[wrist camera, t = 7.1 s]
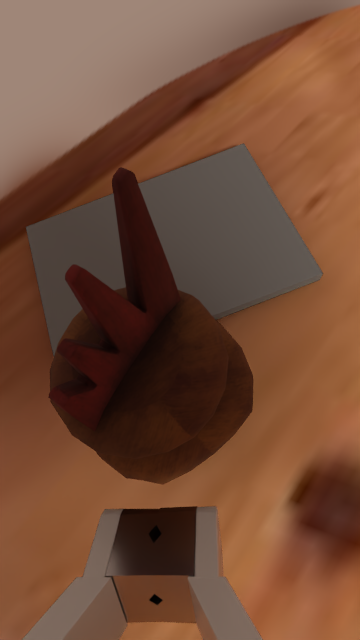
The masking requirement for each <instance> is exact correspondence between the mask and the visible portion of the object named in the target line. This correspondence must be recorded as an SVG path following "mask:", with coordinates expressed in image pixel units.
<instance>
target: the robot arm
mask: <svg viewBox="0 0 360 640" xmlns="http://www.w3.org/2000/svg"><path fill="white" fill-rule="evenodd" d="M131 622H176V623H197V626H198V629H199V631H200V633H201V636H202V638H203V640H263V639H262V637H261V636H260V634H259V632H258V631H257V629H256V627H255V626H254V624H253V622H252V621H251V619H250V617H249V616H248V614H247V612H246V611H245V609H244V607H243V606H242V604H241V602H240V600H239V599H238V597H237V595H236V594H235V592H234V590H233V589H232V587H231V585H230V584H229V582H228V580H227V579H226V577H223V557H222V546H221V535H220V526H219V517H218V509H217V506H212V507H197V506H196V507H173V508H160V509H105V510H104V512H103V513H102V515H101V517H100V520H99V524H98V527H97V530H96V534H95V537H94V540H93V544H92V547H91V550H90V554H89V557H88V560H87V564H86V567H85V570H84V574H83V577H76V579H75V580H74V581H73V582H72V583H71V584H70V585H69V587H68V588H67V589H66V590H65V591H64V592H63V593H62V595H61V596H60V597H59V598H58V599H57V600H56V601H55V603H54V604H53V605H52V606H51V607H50V608H49V609H48V611H47V612H46V613H45V614H44V615H43V616H42V617H41V619H40V620H39V621H38V622H37V623H36V624H35V625H34V627H33V628H32V629H31V630H30V631H29V632H28V633H27V635H26V636H25V637H24V638H23V639H22V640H119V639H120V637H121V635H122V634H123V632H124V630H125V629H126V627H127V623H131Z"/></svg>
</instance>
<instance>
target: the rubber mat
mask: <svg viewBox="0 0 360 640" xmlns="http://www.w3.org/2000/svg"><path fill="white" fill-rule="evenodd" d="M138 185H139V188H140V190H141V193H142V195H143V198H144V201H145V203H146V206H147V208H148V211H149V214H150V216H151V219H152V222H153V224H154V227H155V229H156V232H157V235H158V237H159V240H160V243H161V245H162V248H163V250H164V253H165V256H166V258H167V261H168V263H169V266H170V269H171V271H172V274H173V277H174V280H175V283H176V286H177V289H178V290H180V291H183V292H185V293H188V294H190V295H193V296H194V297H195V298H197V299H198V300H199V301H200V302H201V303H202V304H203V305H204V307H205V308H206V309H207V310H208V311H209V313H210V314H211V315H212V316H213V317H214V319H215V320H217V319H219V318H222V317H224V316H227V315H230V314H232V313H235V312H237V311H240V310H243V309H245V308H248V307H250V306H253V305H256V304H258V303H261V302H263V301H266V300H268V299H271V298H274V297H276V296H279V295H281V294H284V293H287V292H289V291H292V290H294V289H297V288H300V287H302V286H305V285H307V284H310V283H313V282H315V281H318V280H320V278H321V276H322V274H323V273H322V271H321V269H320V268H319V266H318V264H317V263H316V261H315V259H314V258H313V256H312V255H311V253H310V251H309V250H308V248H307V246H306V245H305V243H304V241H303V240H302V238H301V236H300V235H299V233H298V232H297V230H296V228H295V227H294V225H293V223H292V222H291V220H290V218H289V217H288V215H287V213H286V212H285V210H284V209H283V207H282V205H281V204H280V202H279V200H278V199H277V197H276V195H275V194H274V192H273V190H272V189H271V187H270V186H269V184H268V182H267V181H266V179H265V177H264V176H263V174H262V172H261V171H260V169H259V167H258V166H257V164H256V163H255V161H254V159H253V158H252V156H251V154H250V153H249V151H248V149H247V148H246V146H245V144H244V143H243V144H241V145H238V146H235V147H233V148H230V149H228V150H225V151H222V152H220V153H217V154H215V155H212V156H209V157H207V158H204V159H202V160H199V161H196V162H194V163H191V164H189V165H186V166H183V167H181V168H178V169H176V170H173V171H170V172H168V173H165V174H163V175H160V176H157V177H155V178H152V179H149V180H147V181H144V182H142V183H139V184H138ZM26 230H27V235H28V239H29V244H30V249H31V253H32V258H33V263H34V267H35V272H36V277H37V281H38V286H39V291H40V295H41V300H42V305H43V309H44V314H45V319H46V323H47V328H48V333H49V337H50V342H51V347H52V351H53V356H54V355H55V352H56V349H57V345H58V343H59V341H60V339H61V337H62V336H63V334H64V332H65V331H66V329H67V327H68V326H69V324H70V323H71V321H72V319H73V318H74V317H75V316H76V315H77V314H78V313H79V312H80V311H81V310H82V309H83V308H82V307H81V305H80V303H79V302H78V300H77V298H76V297H75V295H74V293H73V292H72V290H71V288H70V287H69V285H68V284H67V282H66V280H65V274H66V272H67V270H68V269H69V268H70V266H71V265H73V264H76V265H78V266H80V267H82V268H84V269H86V270H87V271H88V272H90V273H91V274H92V275H94V276H95V277H96V278H98V279H99V280H101V281H102V282H103V283H105V284H106V285H107V286H109V287H110V288H111V289H113V290H117V289H121V288H125V287H126V284H125V277H124V269H123V262H122V254H121V247H120V239H119V232H118V224H117V217H116V209H115V202H114V194H110V195H108V196H105V197H103V198H100V199H97V200H95V201H92V202H90V203H87V204H84V205H82V206H79V207H77V208H74V209H71V210H69V211H66V212H64V213H61V214H58V215H56V216H53V217H51V218H48V219H45V220H43V221H40V222H37V223H35V224H32V225H30V226H27V227H26Z"/></svg>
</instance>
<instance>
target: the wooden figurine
mask: <svg viewBox="0 0 360 640" xmlns="http://www.w3.org/2000/svg"><path fill="white" fill-rule="evenodd" d="M112 187H113V194H114V202H115V209H116V217H117V224H118V232H119V239H120V247H121V254H122V262H123V269H124V277H125V284H126V287H125V288H121V289H117V290H113V289H111V288H110V287H109V286H107V285H106V284H105V283H103V282H102V281H101V280H99V279H98V278H96V277H95V276H94V275H92V274H91V273H90V272H88V271H87V270H86V269H84V268H82V267H80V266H78V265H76V264H73V265H71V266H70V268H69V269H68V270H67V272H66V274H65V280H66V282H67V284H68V285H69V287H70V288H71V290H72V292H73V293H74V295H75V297H76V298H77V300H78V302H79V303H80V305H81V307H82V308H83V309H82V310H81V311H80V312H79V313H78V314H77V315H76V316H75V317H74V318H73V319H72V321H71V323H70V324H69V326H68V327H67V329H66V331H65V332H64V334H63V336H62V337H61V339H60V341H59V343H58V345H57V349H56V352H55V355H54V359H53V362H52V365H51V369H50V394H49V398H50V399H51V403H52V405H53V406H54V408H55V409H56V411H57V412H58V414H59V415H60V417H61V418H62V420H63V421H64V423H65V424H66V426H67V428H68V429H69V431H70V432H71V434H72V435H73V436H74V437H76V438H77V439H79V440H80V441H82V442H83V443H85V444H86V445H88V446H89V447H91V448H92V449H94V450H95V451H96V452H97V454H98V455H99V456H100V457H101V458H102V459H103V460H104V461H105V462H107V463H108V464H109V465H110V466H112V467H113V468H114V469H115V470H117V471H118V472H119V473H120V474H122V475H123V476H124V477H125V478H130V479H137V480H144V481H148V482H153V483H158V484H165V483H167V482H169V481H171V480H173V479H175V478H177V477H179V476H181V475H183V474H185V473H187V472H189V471H191V470H192V469H194V468H195V467H196V466H198V465H199V464H201V463H202V462H203V461H205V460H206V459H207V458H209V457H210V456H211V455H213V454H214V453H215V452H216V451H217V450H219V449H220V448H221V447H222V446H223V445H224V444H225V443H226V442H227V441H228V440H229V439H230V438H231V437H232V436H233V435H234V434H235V433H236V432H237V430H238V429H239V428H240V426H241V425H242V424H243V422H244V421H245V420H246V419H247V417H248V416H249V415H250V413H251V412H252V405H253V375H252V372H251V370H250V367H249V365H248V362H247V360H246V358H245V355H244V353H243V350H242V348H241V347H240V346H239V344H238V343H237V342H236V341H235V340H234V339H233V338H232V336H231V335H230V334H229V333H228V332H227V331H226V330H225V329H224V327H223V326H222V325H221V324H220V323H218V322H217V321H216V320H215V319H214V317H213V316H212V315H211V314H210V313H209V311H208V310H207V309H206V308H205V307H204V305H203V304H202V303H201V302H200V301H199V300H198V299H197V298H195V297H194V296H193V295H190V294H188V293H185V292H183V291H180V290H178V289H177V286H176V283H175V280H174V277H173V274H172V271H171V269H170V266H169V263H168V261H167V258H166V256H165V253H164V250H163V248H162V245H161V243H160V240H159V237H158V235H157V232H156V229H155V227H154V224H153V222H152V219H151V216H150V214H149V211H148V208H147V206H146V203H145V201H144V198H143V195H142V193H141V190H140V188H139V185H138V182H137V180H136V177H135V174H134V173H133V172H131V171H129V170H127V169H124V168H119V169H118V170H117V172H116V173H115V174H114V176H113V179H112Z"/></svg>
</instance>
